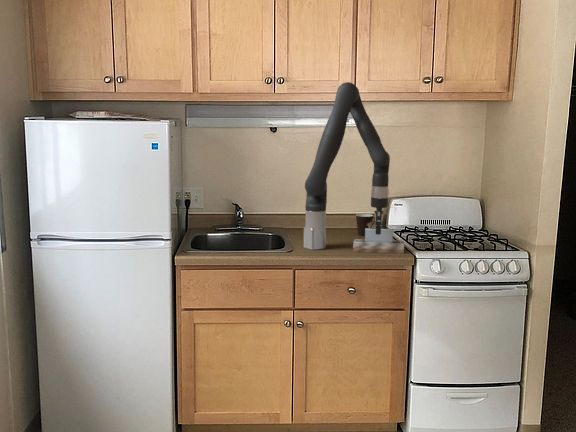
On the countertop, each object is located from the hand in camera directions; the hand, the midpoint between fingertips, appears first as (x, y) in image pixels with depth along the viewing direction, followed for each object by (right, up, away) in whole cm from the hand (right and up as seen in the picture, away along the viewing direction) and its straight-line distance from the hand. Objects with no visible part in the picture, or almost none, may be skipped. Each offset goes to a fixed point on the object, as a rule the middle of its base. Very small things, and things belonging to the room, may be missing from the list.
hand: (378, 232), depth 254 cm
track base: (0, -8, +1) cm, 8 cm away
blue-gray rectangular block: (0, -7, +1) cm, 7 cm away
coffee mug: (0, -2, +37) cm, 37 cm away
